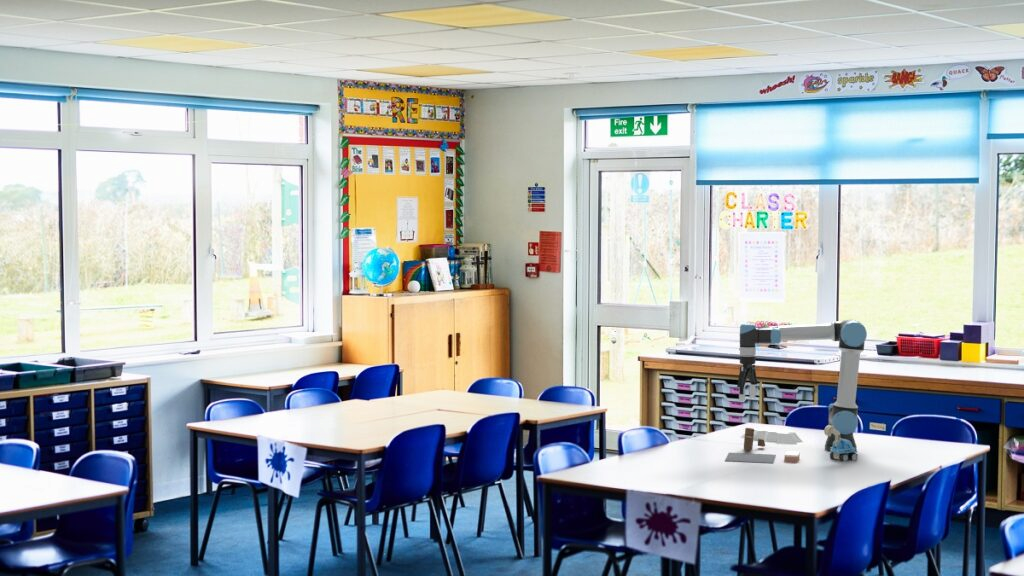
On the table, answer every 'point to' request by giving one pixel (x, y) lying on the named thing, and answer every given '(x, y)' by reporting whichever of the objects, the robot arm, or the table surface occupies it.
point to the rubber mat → (750, 458)
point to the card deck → (792, 456)
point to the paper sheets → (775, 435)
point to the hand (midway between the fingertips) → (747, 399)
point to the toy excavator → (840, 446)
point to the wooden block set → (751, 439)
